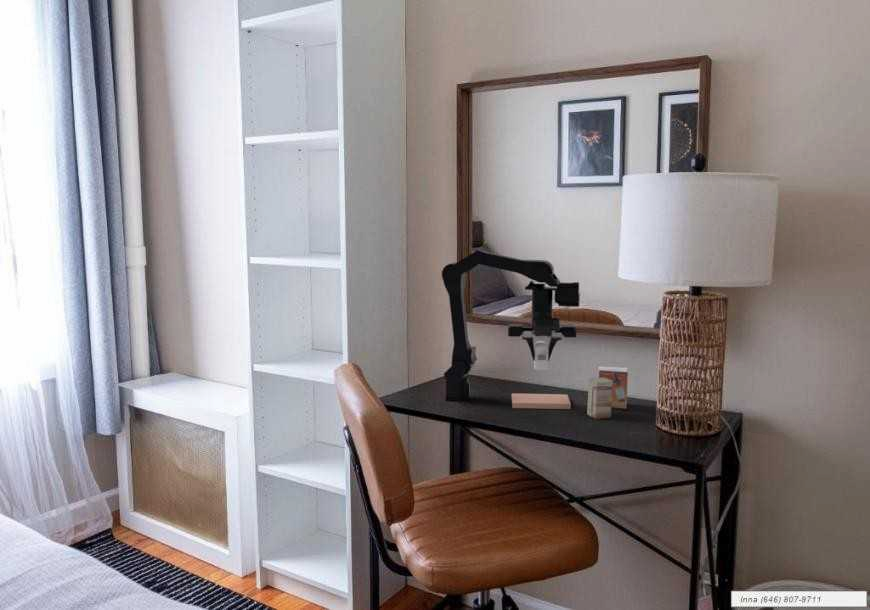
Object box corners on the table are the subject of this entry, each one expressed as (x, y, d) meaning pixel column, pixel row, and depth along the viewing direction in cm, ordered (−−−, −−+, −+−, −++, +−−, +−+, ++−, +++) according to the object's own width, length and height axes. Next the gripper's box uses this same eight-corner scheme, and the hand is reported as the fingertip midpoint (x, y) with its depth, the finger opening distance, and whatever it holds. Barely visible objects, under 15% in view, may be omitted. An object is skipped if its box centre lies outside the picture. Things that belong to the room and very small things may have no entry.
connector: (535, 370, 200) (535, 344, 199) (533, 365, 206) (534, 340, 205) (548, 370, 199) (548, 345, 198) (546, 366, 205) (547, 340, 204)
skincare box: (595, 419, 190) (596, 382, 188) (586, 414, 194) (587, 378, 192) (612, 417, 191) (613, 380, 190) (603, 412, 195) (604, 376, 194)
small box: (597, 407, 201) (598, 370, 200) (597, 401, 207) (598, 365, 205) (626, 408, 199) (628, 371, 198) (626, 403, 205) (627, 367, 203)
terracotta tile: (512, 407, 200) (512, 402, 200) (511, 398, 210) (511, 393, 210) (570, 409, 199) (570, 403, 199) (567, 399, 209) (567, 394, 209)
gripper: (509, 309, 194) (508, 366, 196) (579, 310, 192) (577, 367, 194) (508, 304, 205) (507, 357, 207) (574, 304, 203) (573, 358, 205)
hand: (540, 360), depth 203 cm, fingers closed on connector, 4 cm apart
